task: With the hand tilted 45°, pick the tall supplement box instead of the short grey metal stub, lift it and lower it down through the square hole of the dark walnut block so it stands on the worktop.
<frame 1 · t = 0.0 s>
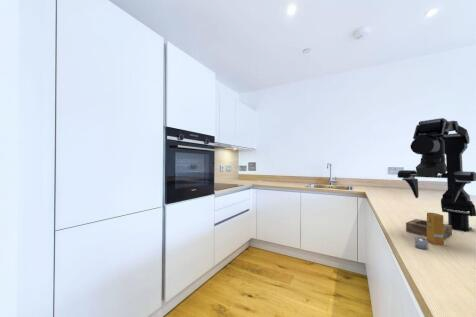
hand: (434, 200, 67), 15 cm above the countertop, tool pointing down, fingers open, 9 cm apart
hole block: (428, 233, 75), on the countertop
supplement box: (435, 243, 66), on the countertop
short metal stub: (421, 248, 62), on the countertop
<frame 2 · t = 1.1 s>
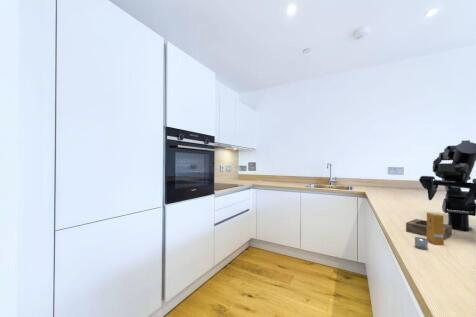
hand: (445, 201, 70), 13 cm above the countertop, tool tilted 45°, fingers open, 9 cm apart
nothing on the countertop moved.
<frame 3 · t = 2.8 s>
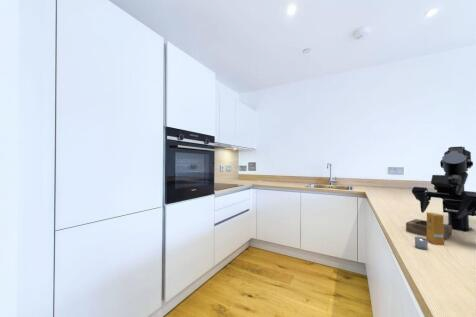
hand: (438, 214, 67), 9 cm above the countertop, tool tilted 45°, fingers open, 9 cm apart
nothing on the countertop moved.
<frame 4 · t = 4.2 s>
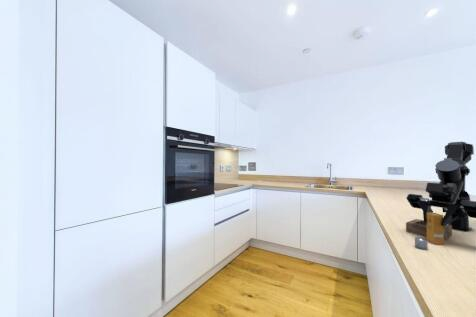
hand: (433, 223, 66), 7 cm above the countertop, tool tilted 45°, fingers closed on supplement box, 4 cm apart
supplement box: (435, 243, 66), on the countertop, touching gripper
everything else where it was.
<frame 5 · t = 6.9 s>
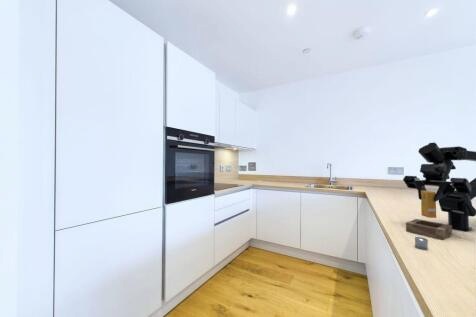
hand: (426, 199, 75), 13 cm above the countertop, tool tilted 45°, fingers closed on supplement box, 4 cm apart
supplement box: (429, 217, 75), point 6 cm above the countertop, touching gripper
everything else where it was.
when the fingers open (8 cm above the countertop, at t = 9.2 s): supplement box drops 2 cm, resting in hole block.
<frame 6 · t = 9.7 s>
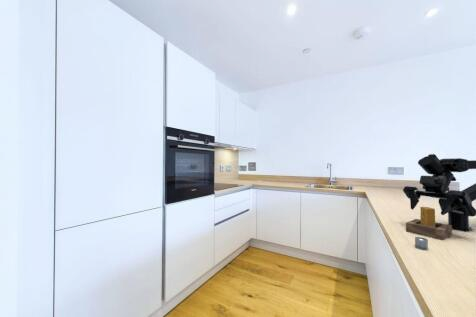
hand: (425, 211, 75), 9 cm above the countertop, tool tilted 45°, fingers open, 9 cm apart
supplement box: (428, 233, 75), resting in hole block
everything else where it was.
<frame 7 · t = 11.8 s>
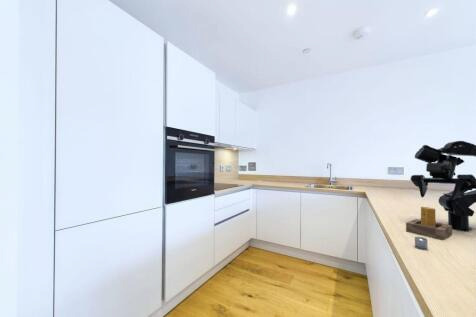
hand: (436, 197, 77), 14 cm above the countertop, tool tilted 40°, fingers open, 9 cm apart
nothing on the countertop moved.
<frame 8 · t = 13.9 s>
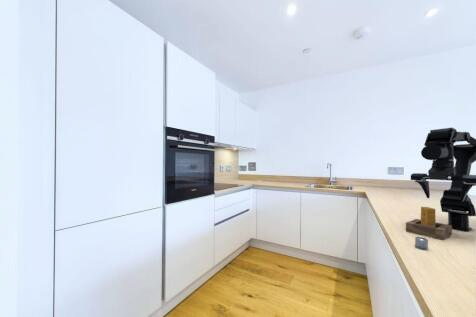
hand: (444, 200, 75), 13 cm above the countertop, tool pointing down, fingers open, 9 cm apart
nothing on the countertop moved.
at the end: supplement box 0.3 cm off-centre on the hole block, point 0.0 cm above the hole block's base; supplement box tilted 0°; the gripper is holding nothing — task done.
